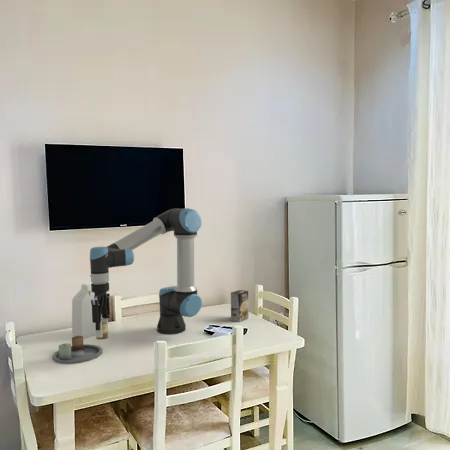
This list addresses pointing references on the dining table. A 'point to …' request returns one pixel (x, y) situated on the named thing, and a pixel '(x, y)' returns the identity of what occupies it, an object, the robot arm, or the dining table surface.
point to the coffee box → (239, 305)
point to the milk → (83, 313)
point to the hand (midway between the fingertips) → (102, 334)
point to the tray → (80, 355)
